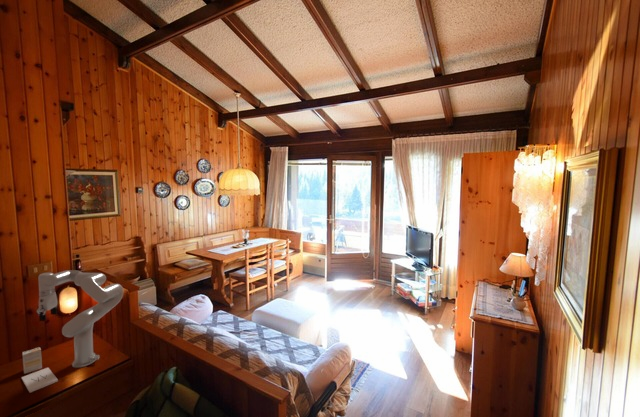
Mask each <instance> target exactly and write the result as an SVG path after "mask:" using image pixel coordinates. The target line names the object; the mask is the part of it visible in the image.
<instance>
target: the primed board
mask: <svg viewBox="0 0 640 417" xmlns="http://www.w3.org/2000/svg"><path fill="white" fill-rule="evenodd" d="M20 377H21V380H22V382H23V384H24V385H25V386H24V387H25V388H26V389H27V391H28V392H29V393H33V392H35V391H37V390H41V389H43V388H46V387H48V386H50V385H52V384H55V383H57V382H59V379H58V378H57V377H56V375H55V374H54V373H53V372H52V370H51V369H50V367H45V368H42V369H39V370H36V371H33V372H32V373H28V374H27V375H24V376H20Z"/></svg>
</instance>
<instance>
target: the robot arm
mask: <svg viewBox="0 0 640 417" xmlns="http://www.w3.org/2000/svg"><path fill="white" fill-rule="evenodd" d="M37 278H38V296H39V298H38V308H37V309H36V313H37V315H38V317H39V319H38V320H39V322H45V321H47V316H46V312H48V311H50V315H52V316H53V315H57V314H58V311H57V310H58V302H59V300H58V297H57V293H56V288H55V287H56V286H60V285H62V284H64V283H68V282H73V283H74V285H76V286H77V287H80V288H81V289H82V291H84V292H85V293H86V294H87V295H88V296H90V298H92V299H93V300H94V301H95V302H97V304H95V305H93V306H91V307H89V308H88V309H86V310H83V311H82V312H80V313H78V314H77V315H75V316H74V317H73V318H71V319H70V320H69V321H68V322H66V323H64V325H63V326H62V328H61V333H62V335H63V336H64V337H66V338H73V348H74V350H73V351H74V360H73V362H71V366H72V368H75V369H77V368H78V369H79V368H84V367H87V366H89V365H91V364H93V363H94V362H95V361H97V360H100V354H96V352H94V338H93V336H94V335H93V334H94V333H93V330H94V323H96V322H97V321H99V320H100V319H101V318H103V317H104V316H105V315H107V313H109V312H110V311H111V310H113V308H114V307H116V306H117V305H118V304H119V303H120V302H121V300H122V299H123V296H124V287H123V285H121V284H120V283H111V284H109V285H106V286H103V287H101V286H102V285H104V284H105V283H106V281H107V276H106V274H104V273H102V272H82V271H80V270H76V269H75V270H73V269H72V270H69V269H68V270H63V271H59V272H55V273H53V272H43V273H40V274H39V275H38V277H37Z"/></svg>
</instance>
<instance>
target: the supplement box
mask: <svg viewBox="0 0 640 417" xmlns="http://www.w3.org/2000/svg"><path fill="white" fill-rule="evenodd" d="M42 362H43V360H42V349H41V347H39V346H38V347H35V348H33V349H29V350H26V351H22V366H23V374H30V373H31V372H32V373H33V372H36V371H39V370H42V369H43V363H42Z"/></svg>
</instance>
